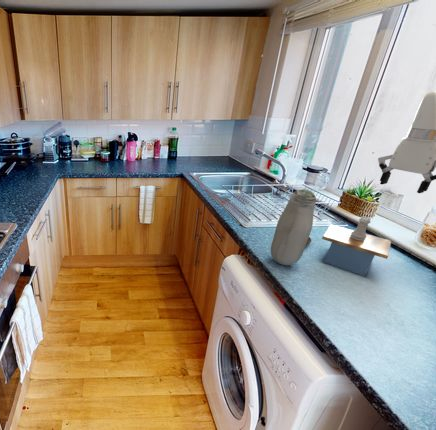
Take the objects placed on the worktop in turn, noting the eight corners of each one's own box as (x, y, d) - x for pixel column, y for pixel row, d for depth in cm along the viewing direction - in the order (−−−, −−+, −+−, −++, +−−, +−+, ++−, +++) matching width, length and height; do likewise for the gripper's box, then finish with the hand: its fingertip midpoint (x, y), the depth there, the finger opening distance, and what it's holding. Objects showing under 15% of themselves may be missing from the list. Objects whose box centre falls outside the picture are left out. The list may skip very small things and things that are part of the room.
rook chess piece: (353, 240, 100) (361, 220, 97) (346, 234, 104) (355, 214, 101) (367, 242, 100) (376, 221, 96) (360, 236, 103) (369, 216, 100)
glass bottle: (296, 273, 99) (322, 198, 88) (264, 262, 105) (285, 191, 93) (300, 260, 107) (325, 190, 95) (270, 251, 112) (290, 183, 100)
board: (389, 243, 101) (391, 240, 101) (386, 259, 92) (388, 255, 92) (329, 226, 113) (330, 224, 112) (321, 239, 104) (322, 236, 103)
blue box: (368, 262, 106) (378, 241, 103) (364, 276, 99) (375, 254, 95) (330, 250, 114) (338, 230, 110) (324, 262, 106) (332, 241, 102)
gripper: (470, 138, 82) (441, 194, 89) (395, 130, 96) (375, 179, 103) (460, 140, 79) (431, 198, 86) (383, 131, 93) (364, 182, 100)
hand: (401, 188), depth 94 cm, fingers open, 9 cm apart
